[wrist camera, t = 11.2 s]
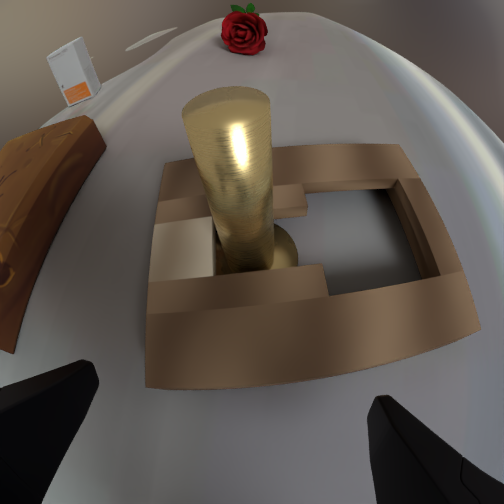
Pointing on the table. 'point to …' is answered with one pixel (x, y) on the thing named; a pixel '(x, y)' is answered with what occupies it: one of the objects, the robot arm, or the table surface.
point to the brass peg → (238, 178)
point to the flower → (244, 30)
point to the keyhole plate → (295, 283)
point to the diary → (37, 206)
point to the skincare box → (74, 72)
